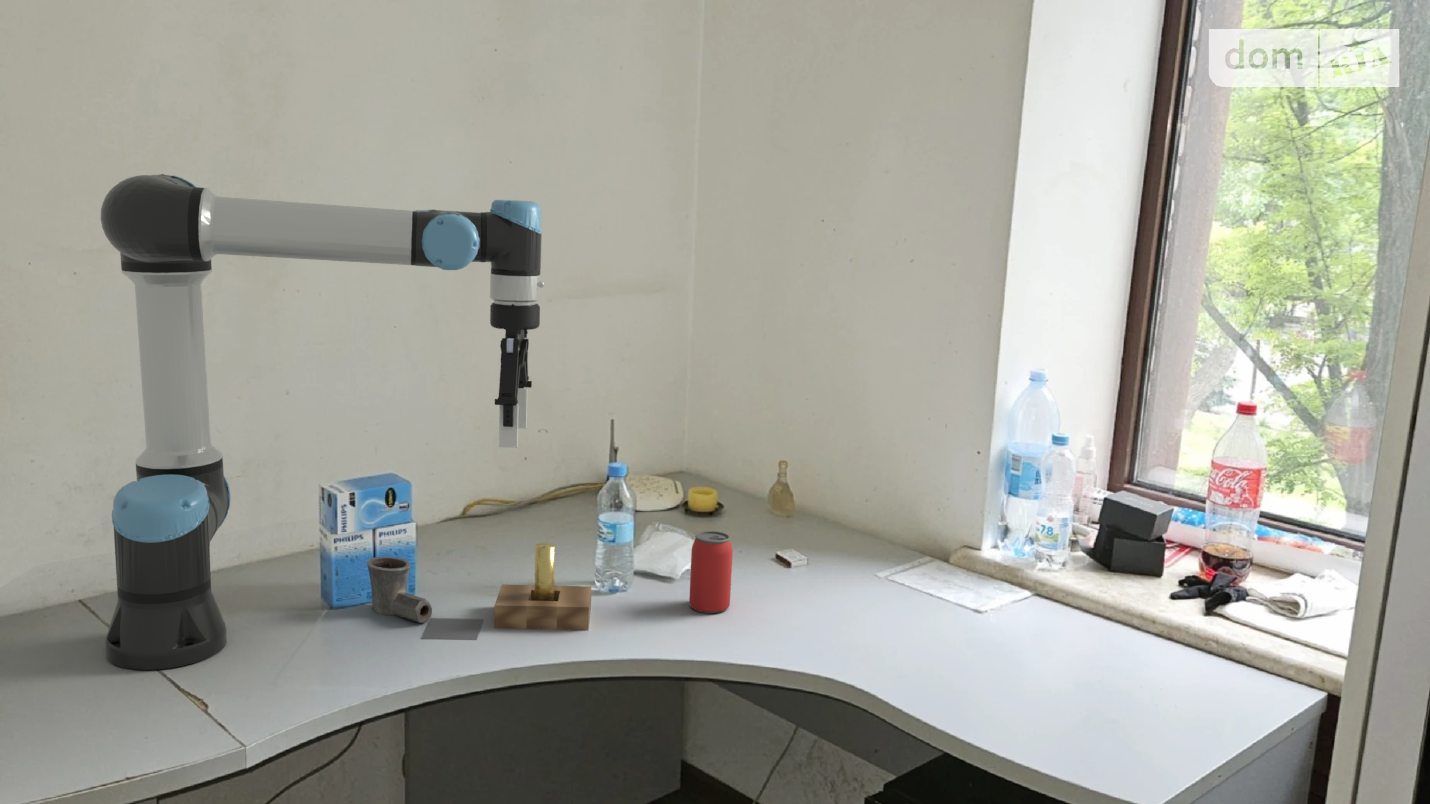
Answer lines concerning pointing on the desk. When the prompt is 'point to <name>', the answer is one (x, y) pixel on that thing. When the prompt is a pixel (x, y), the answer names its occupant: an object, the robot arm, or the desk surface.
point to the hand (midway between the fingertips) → (513, 437)
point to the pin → (544, 571)
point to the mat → (452, 629)
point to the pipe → (395, 590)
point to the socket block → (543, 608)
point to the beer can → (711, 572)
